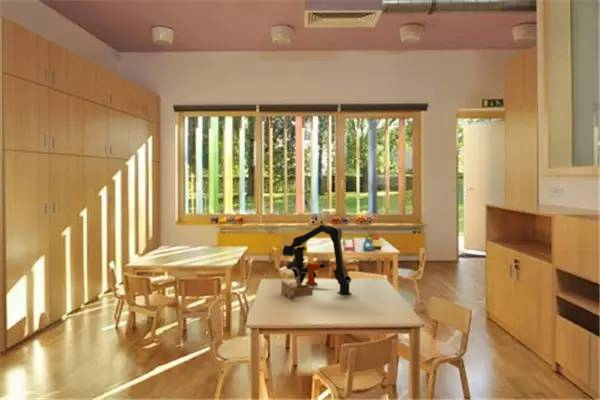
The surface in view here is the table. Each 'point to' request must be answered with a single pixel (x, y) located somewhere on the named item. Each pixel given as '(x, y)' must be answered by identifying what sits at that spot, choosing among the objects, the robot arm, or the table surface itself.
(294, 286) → the tan rectangular block
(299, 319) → the table surface
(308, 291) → the tan wooden t-shaped piece
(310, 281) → the toy drill
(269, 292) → the table surface
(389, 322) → the table surface
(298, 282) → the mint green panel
